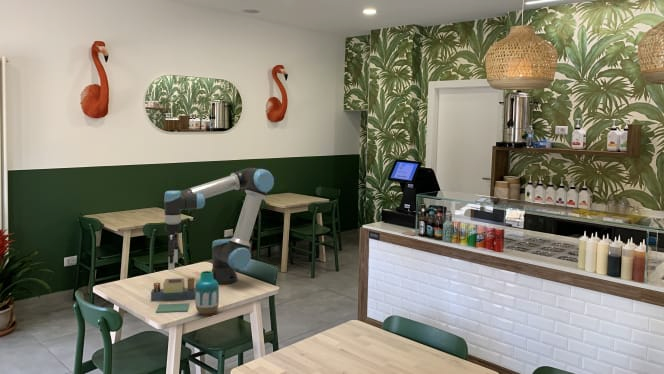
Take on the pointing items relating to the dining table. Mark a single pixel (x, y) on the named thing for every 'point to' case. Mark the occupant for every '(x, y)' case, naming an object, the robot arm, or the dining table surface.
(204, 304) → the vase
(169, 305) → the felt pad
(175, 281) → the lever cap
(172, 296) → the knobbed metal bar
